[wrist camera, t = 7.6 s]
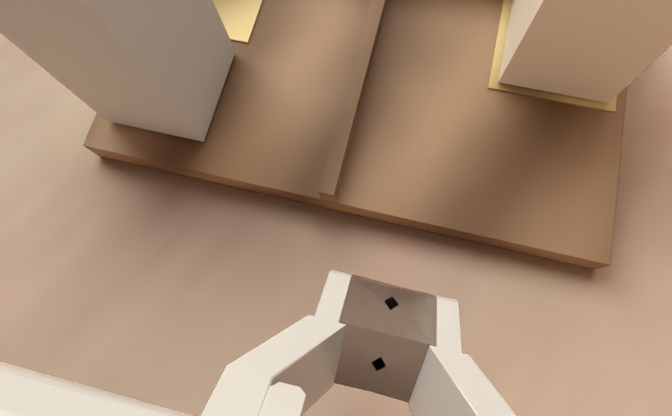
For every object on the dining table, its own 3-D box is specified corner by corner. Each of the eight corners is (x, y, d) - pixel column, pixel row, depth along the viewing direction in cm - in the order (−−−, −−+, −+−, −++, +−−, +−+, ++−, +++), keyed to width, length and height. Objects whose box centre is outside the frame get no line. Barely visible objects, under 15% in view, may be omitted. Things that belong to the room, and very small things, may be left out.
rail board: (98, 155, 20) (44, 119, 17) (184, -51, 23) (153, -118, 20) (593, 269, 18) (650, 254, 14) (619, 20, 21) (671, -42, 17)
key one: (107, 121, 19) (-155, -96, 9) (144, 31, 20) (-54, -245, 11) (203, 142, 19) (32, -64, 9) (236, 48, 20) (116, -224, 10)
